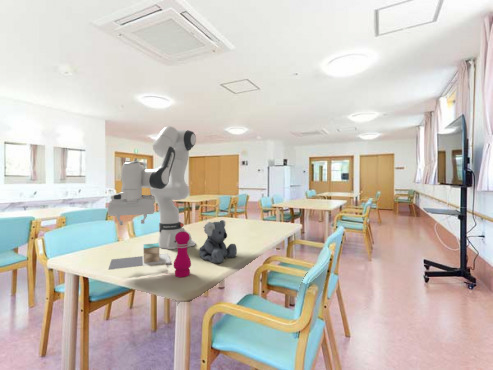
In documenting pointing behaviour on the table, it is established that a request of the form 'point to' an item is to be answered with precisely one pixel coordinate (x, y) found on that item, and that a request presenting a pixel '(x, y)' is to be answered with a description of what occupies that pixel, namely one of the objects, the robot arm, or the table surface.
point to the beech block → (151, 252)
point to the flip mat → (137, 262)
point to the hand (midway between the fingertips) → (132, 224)
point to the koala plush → (216, 243)
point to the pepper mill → (182, 254)
